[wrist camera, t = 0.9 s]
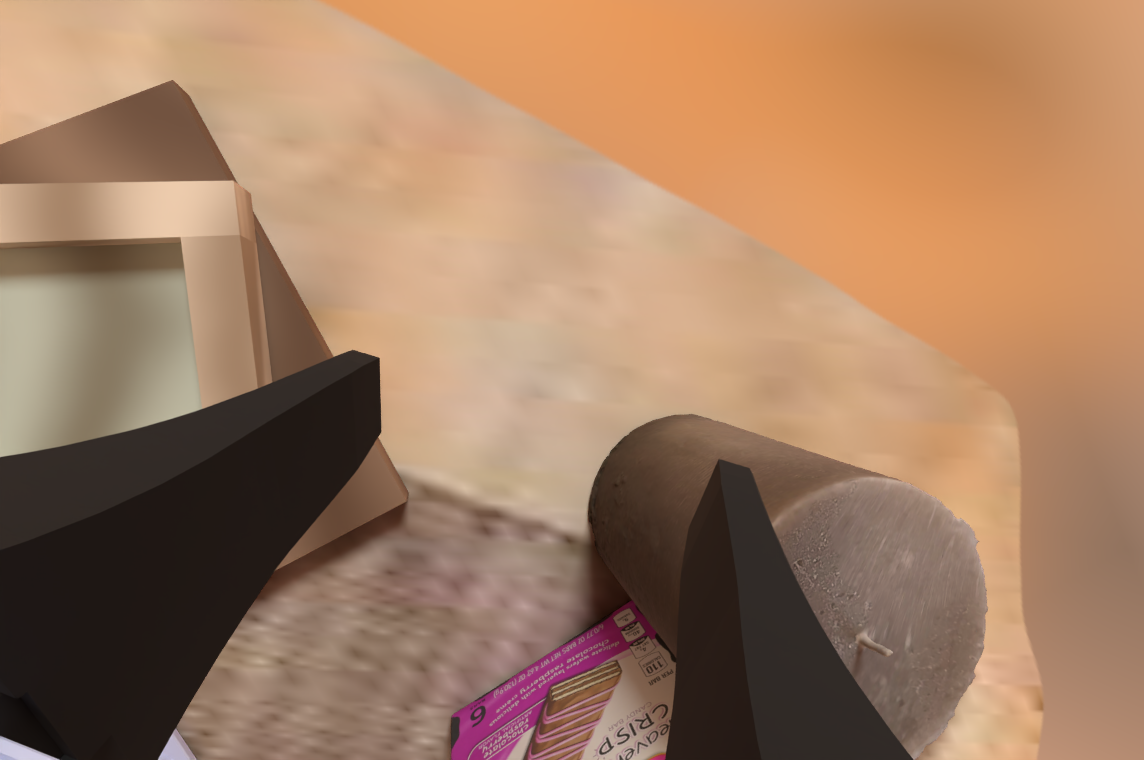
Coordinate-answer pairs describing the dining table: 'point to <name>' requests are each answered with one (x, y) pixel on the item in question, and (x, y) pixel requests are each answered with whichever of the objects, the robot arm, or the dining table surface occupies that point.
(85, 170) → the walnut board
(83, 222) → the cabinet door with knob
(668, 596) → the pillar candle
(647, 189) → the dining table surface
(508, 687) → the candy bar box
